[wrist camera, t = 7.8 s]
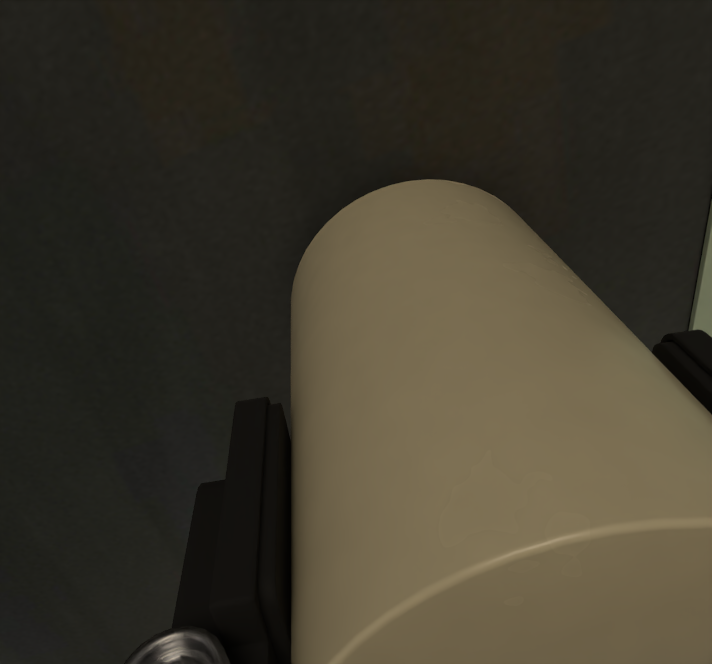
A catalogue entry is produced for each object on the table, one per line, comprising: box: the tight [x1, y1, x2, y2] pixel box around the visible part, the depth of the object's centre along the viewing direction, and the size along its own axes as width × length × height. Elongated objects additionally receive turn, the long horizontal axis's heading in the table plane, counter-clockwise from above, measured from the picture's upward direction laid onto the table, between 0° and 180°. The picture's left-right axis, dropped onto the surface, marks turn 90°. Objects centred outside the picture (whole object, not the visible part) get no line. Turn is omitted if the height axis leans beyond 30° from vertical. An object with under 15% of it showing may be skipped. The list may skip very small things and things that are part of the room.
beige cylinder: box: [291, 179, 712, 664], centre depth 11 cm, size 6×6×10 cm
